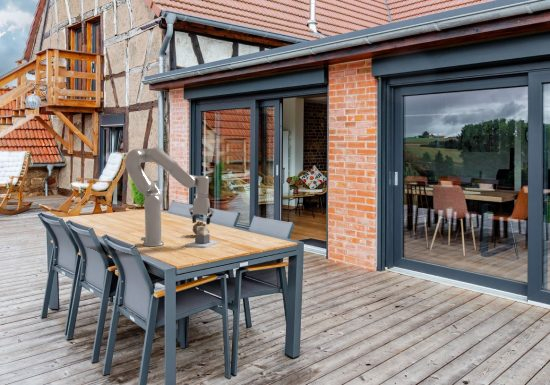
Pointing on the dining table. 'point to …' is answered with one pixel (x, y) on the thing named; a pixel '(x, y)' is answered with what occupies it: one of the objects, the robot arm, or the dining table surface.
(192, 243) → the board
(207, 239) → the charcoal block
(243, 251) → the dining table surface
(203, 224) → the pine cone
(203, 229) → the cream block
